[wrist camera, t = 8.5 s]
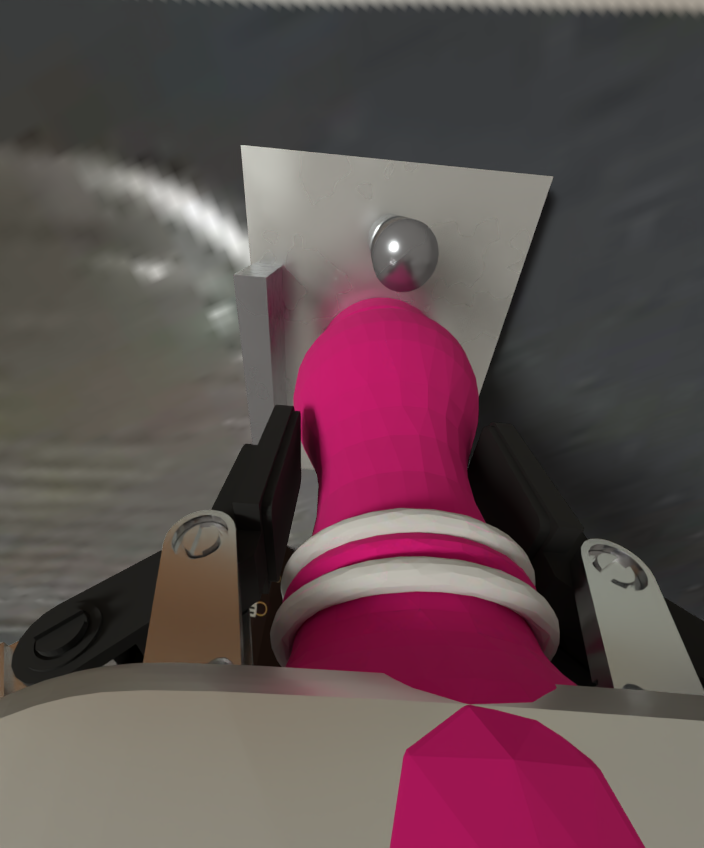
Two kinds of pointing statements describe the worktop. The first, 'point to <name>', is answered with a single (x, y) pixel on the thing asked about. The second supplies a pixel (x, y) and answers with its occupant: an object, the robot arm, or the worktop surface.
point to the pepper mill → (431, 591)
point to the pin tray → (338, 258)
